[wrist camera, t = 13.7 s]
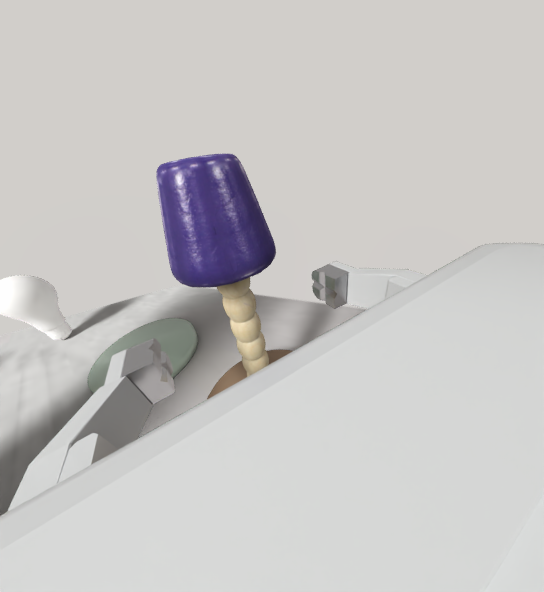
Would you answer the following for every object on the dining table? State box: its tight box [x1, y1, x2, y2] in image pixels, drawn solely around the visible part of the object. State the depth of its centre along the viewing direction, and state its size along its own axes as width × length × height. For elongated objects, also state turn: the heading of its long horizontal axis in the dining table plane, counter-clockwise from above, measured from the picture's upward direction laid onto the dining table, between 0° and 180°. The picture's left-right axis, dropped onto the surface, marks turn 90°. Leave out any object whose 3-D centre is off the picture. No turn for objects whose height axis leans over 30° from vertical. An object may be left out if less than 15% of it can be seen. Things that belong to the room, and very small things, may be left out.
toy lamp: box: [157, 154, 276, 377], centre depth 11 cm, size 5×5×17 cm
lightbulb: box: [0, 275, 72, 340], centre depth 29 cm, size 6×6×11 cm
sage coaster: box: [88, 318, 198, 393], centre depth 25 cm, size 12×12×1 cm
